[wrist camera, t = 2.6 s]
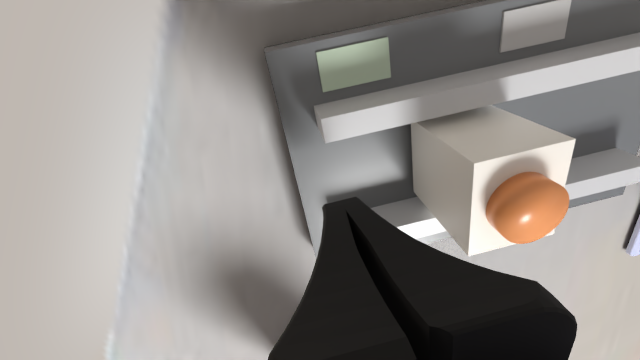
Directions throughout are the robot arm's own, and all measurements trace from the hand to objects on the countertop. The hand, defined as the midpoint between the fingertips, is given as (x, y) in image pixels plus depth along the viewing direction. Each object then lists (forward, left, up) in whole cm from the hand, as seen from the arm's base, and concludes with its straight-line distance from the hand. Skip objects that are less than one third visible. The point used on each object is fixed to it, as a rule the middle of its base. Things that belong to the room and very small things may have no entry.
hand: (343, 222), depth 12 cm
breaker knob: (-6, 0, -4) cm, 7 cm away
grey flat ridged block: (-8, 0, -6) cm, 10 cm away
